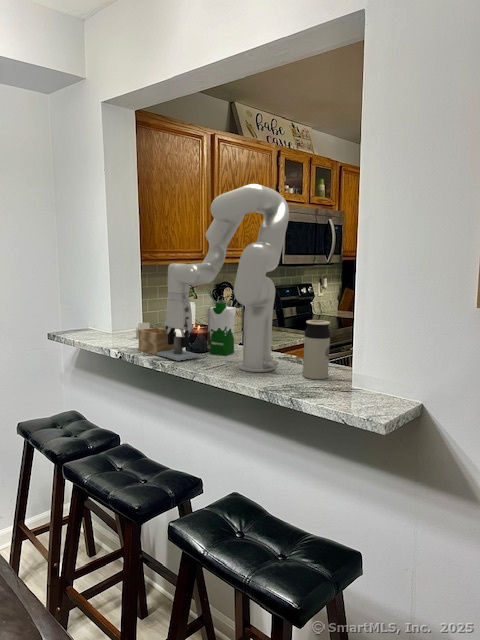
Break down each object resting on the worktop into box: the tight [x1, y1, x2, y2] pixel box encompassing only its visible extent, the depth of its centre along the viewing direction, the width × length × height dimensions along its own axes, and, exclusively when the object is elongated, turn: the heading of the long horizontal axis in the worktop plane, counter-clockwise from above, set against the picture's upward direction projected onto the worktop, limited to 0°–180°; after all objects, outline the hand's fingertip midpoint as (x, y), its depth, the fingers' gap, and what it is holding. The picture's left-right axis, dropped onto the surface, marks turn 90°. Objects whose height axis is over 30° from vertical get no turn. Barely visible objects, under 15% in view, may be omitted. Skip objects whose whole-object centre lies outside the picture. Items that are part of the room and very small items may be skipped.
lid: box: [156, 336, 200, 362], centre depth 174 cm, size 13×10×8 cm
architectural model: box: [134, 321, 151, 340], centre depth 212 cm, size 3×7×7 cm, turn 133°
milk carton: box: [209, 301, 237, 357], centre depth 183 cm, size 9×9×20 cm
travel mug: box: [302, 319, 331, 381], centre depth 151 cm, size 8×8×18 cm
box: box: [138, 327, 177, 356], centre depth 184 cm, size 12×9×8 cm
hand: (178, 345), depth 174 cm, fingers open, 6 cm apart
